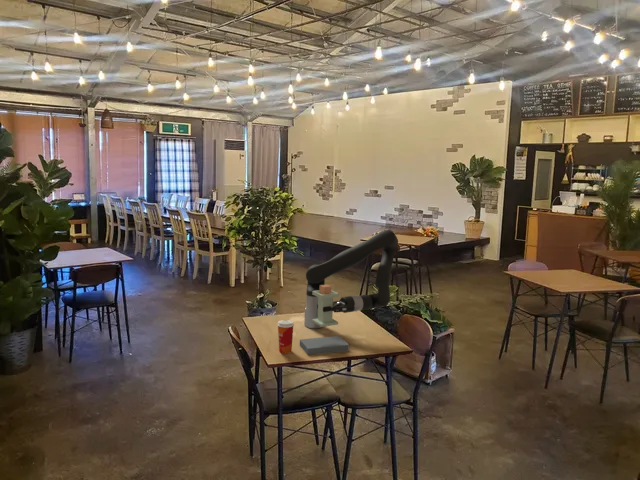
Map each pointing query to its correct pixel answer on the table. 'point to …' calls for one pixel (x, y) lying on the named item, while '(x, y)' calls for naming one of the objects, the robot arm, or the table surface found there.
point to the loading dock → (324, 345)
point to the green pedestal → (323, 301)
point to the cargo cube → (325, 289)
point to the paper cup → (285, 336)
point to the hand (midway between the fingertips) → (320, 308)
